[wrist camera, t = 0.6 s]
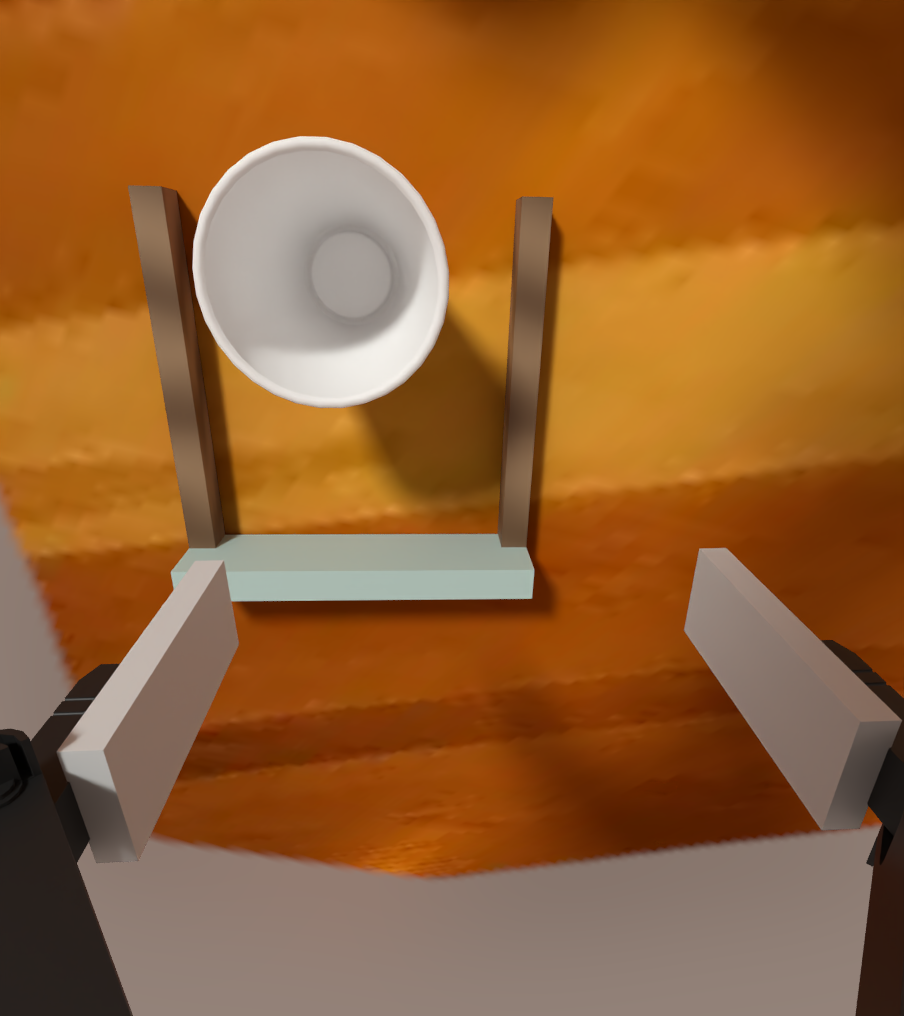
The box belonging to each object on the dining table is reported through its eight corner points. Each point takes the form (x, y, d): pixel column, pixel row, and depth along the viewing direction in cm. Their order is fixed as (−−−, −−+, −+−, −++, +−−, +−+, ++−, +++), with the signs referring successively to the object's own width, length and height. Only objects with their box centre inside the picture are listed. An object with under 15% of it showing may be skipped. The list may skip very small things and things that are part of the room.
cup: (391, 395, 36) (380, 449, 26) (235, 312, 34) (155, 336, 23) (472, 238, 33) (496, 228, 23) (305, 135, 30) (248, 73, 20)
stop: (200, 534, 39) (170, 571, 34) (521, 533, 40) (534, 569, 35) (204, 561, 40) (176, 601, 35) (519, 560, 41) (532, 598, 36)
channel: (145, 189, 31) (127, 185, 29) (545, 201, 32) (553, 197, 30) (204, 561, 40) (194, 576, 38) (519, 560, 41) (524, 574, 39)
